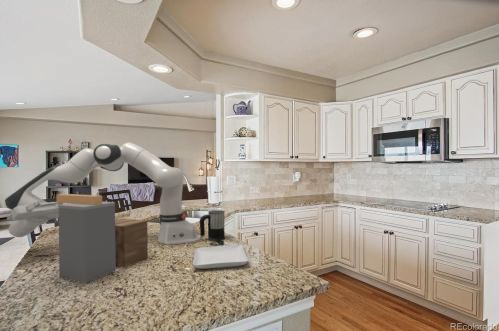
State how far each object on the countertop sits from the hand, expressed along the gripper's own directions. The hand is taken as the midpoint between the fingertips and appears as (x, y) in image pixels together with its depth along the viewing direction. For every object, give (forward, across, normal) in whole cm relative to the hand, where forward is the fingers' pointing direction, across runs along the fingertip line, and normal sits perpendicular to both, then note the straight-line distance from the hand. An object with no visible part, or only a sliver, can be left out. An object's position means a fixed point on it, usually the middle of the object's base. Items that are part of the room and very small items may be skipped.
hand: (50, 201), depth 112 cm
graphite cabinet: (+11, -2, +35) cm, 37 cm away
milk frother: (+30, +53, +46) cm, 76 cm away
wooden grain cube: (+11, +14, +35) cm, 39 cm away
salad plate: (+44, +29, +54) cm, 76 cm away
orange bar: (+20, -2, +10) cm, 22 cm away
